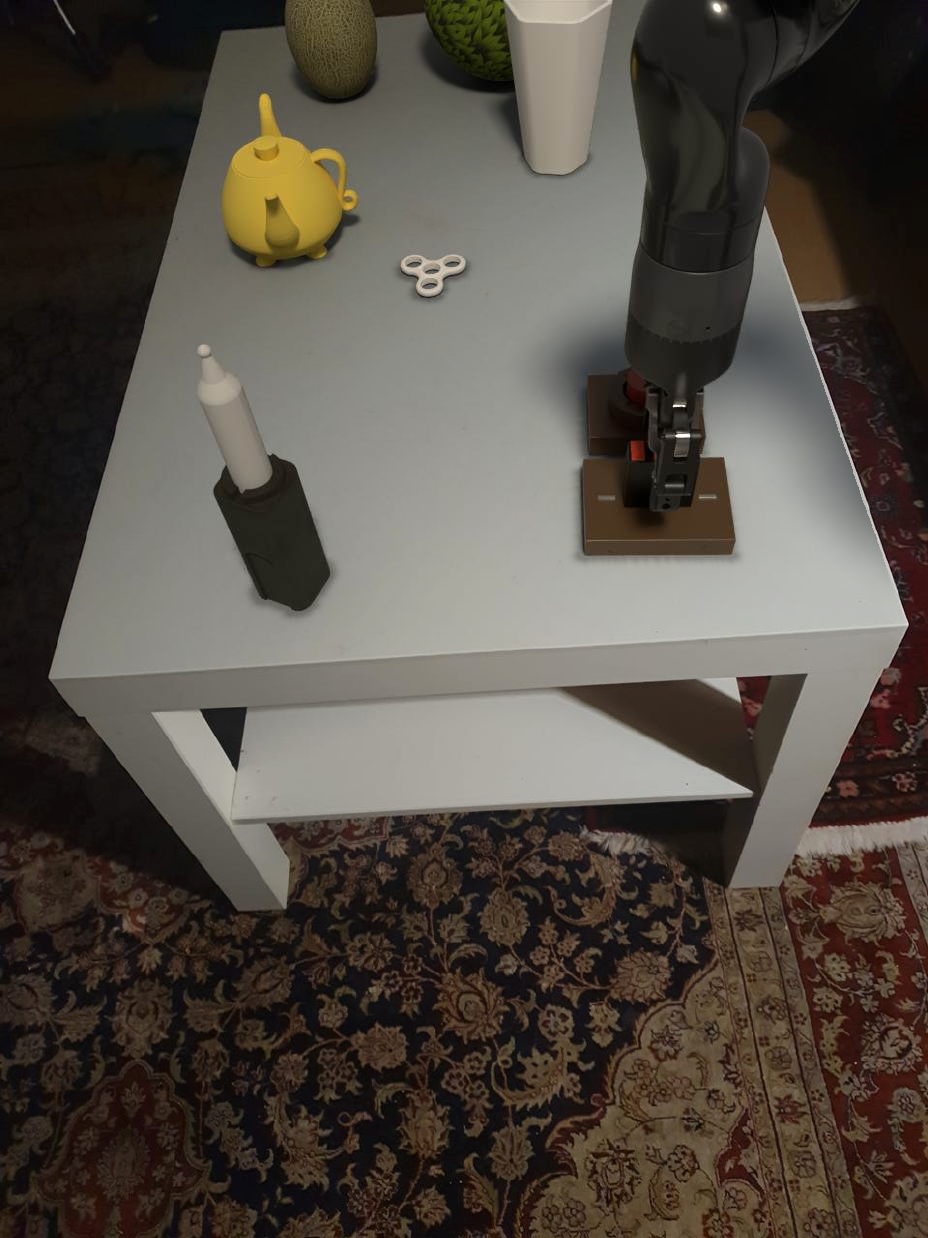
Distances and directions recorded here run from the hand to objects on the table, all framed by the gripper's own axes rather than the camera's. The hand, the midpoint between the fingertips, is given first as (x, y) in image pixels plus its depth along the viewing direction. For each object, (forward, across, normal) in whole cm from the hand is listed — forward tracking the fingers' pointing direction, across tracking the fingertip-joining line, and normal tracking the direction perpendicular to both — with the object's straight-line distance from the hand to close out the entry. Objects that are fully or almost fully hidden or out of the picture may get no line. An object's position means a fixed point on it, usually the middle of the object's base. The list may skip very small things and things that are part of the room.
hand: (659, 466), depth 74 cm
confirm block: (+6, +11, 0) cm, 12 cm away
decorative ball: (+6, +74, +14) cm, 76 cm away
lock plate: (+6, 0, 0) cm, 6 cm away
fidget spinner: (+6, +32, +21) cm, 39 cm away
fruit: (+6, +71, +36) cm, 80 cm away
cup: (+6, +54, +8) cm, 55 cm away
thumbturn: (+4, 0, 0) cm, 4 cm away
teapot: (+6, +40, +37) cm, 55 cm away
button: (+2, +11, 0) cm, 11 cm away
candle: (+6, -7, +30) cm, 32 cm away
